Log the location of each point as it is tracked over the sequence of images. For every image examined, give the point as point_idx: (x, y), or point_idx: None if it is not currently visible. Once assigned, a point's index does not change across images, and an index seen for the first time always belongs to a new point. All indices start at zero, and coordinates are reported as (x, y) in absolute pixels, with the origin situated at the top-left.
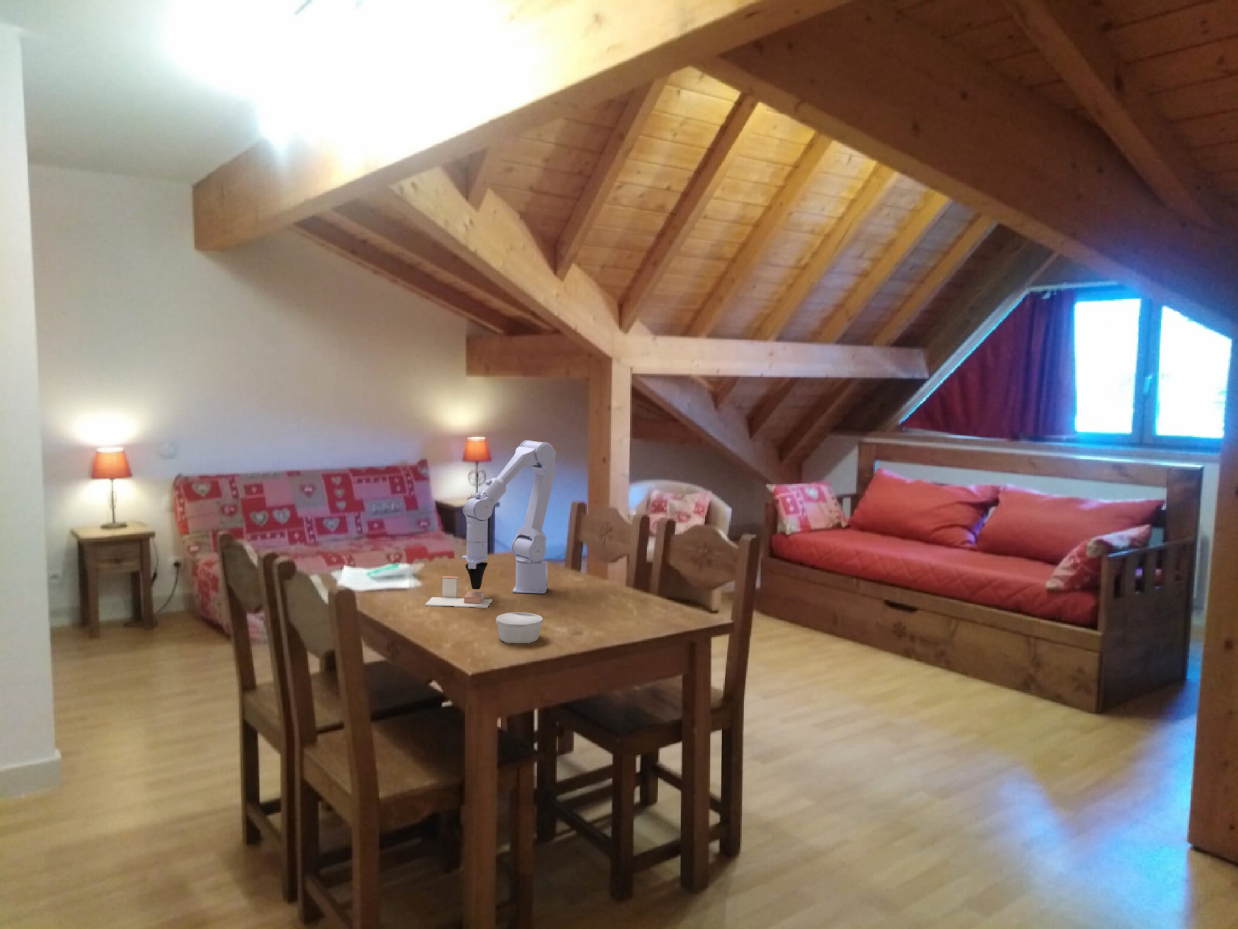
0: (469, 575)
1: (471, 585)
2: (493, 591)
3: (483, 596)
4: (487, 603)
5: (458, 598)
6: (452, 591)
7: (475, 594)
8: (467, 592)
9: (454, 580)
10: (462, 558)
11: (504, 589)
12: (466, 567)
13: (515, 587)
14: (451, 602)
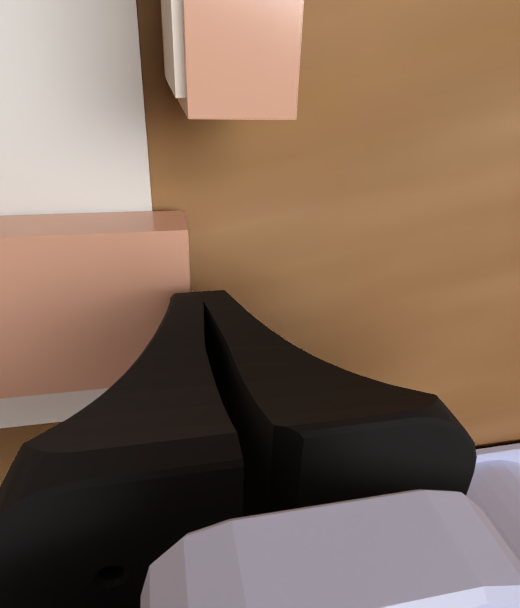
0: (121, 378)
1: (169, 306)
2: (454, 340)
3: None
4: (18, 412)
5: (124, 113)
6: (164, 20)
7: (76, 332)
8: (142, 233)
9: (175, 51)
10: (158, 577)
11: (501, 391)
12: (8, 479)
13: (495, 458)
14: None
